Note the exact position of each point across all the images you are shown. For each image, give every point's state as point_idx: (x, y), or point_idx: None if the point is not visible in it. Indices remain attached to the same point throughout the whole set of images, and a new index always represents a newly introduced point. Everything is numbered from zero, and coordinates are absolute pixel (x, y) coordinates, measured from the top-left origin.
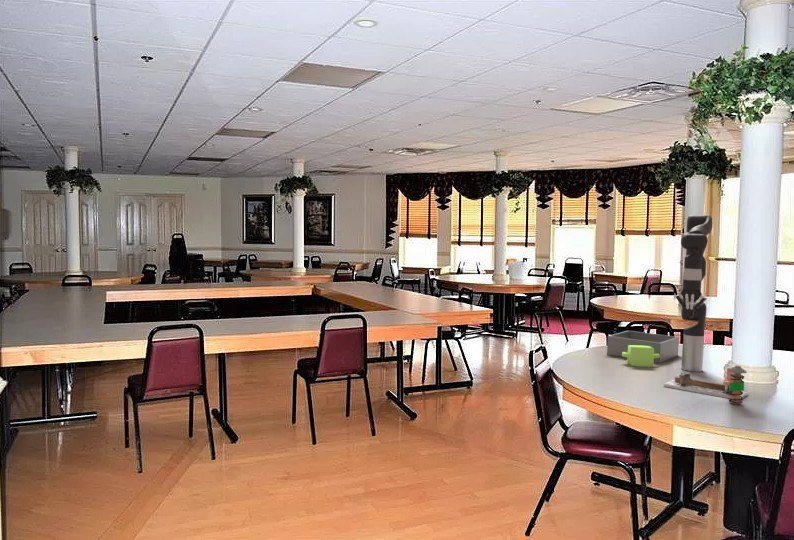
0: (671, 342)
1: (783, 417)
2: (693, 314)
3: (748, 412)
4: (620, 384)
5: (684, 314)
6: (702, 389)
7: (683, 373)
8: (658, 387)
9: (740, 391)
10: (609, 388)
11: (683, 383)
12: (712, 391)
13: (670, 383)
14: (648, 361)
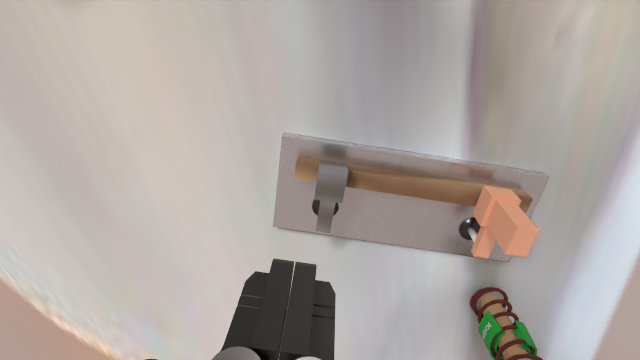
0: None
1: (587, 349)
2: (330, 314)
3: None
4: (164, 269)
5: None
6: (396, 230)
7: (325, 200)
8: (265, 241)
9: (513, 317)
10: (165, 322)
11: None
12: (427, 237)
13: (290, 210)
14: None
